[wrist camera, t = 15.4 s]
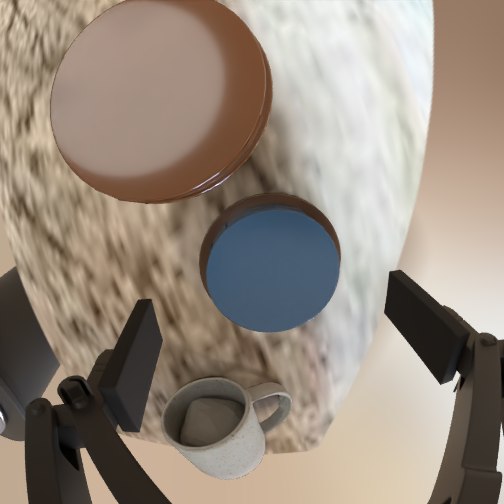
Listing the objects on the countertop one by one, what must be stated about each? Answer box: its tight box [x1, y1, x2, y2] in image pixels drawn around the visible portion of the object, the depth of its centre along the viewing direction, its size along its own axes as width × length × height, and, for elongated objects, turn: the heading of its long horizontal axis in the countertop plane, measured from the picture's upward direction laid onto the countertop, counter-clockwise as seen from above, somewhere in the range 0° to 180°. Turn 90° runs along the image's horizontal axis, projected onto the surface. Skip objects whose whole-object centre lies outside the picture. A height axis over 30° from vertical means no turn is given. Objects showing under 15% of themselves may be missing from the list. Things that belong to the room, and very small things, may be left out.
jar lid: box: [206, 203, 339, 332], centre depth 20 cm, size 9×9×2 cm
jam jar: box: [50, 0, 273, 204], centre depth 12 cm, size 8×8×10 cm
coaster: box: [199, 193, 341, 299], centre depth 21 cm, size 10×10×1 cm
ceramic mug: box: [161, 377, 292, 480], centre depth 22 cm, size 11×8×8 cm
